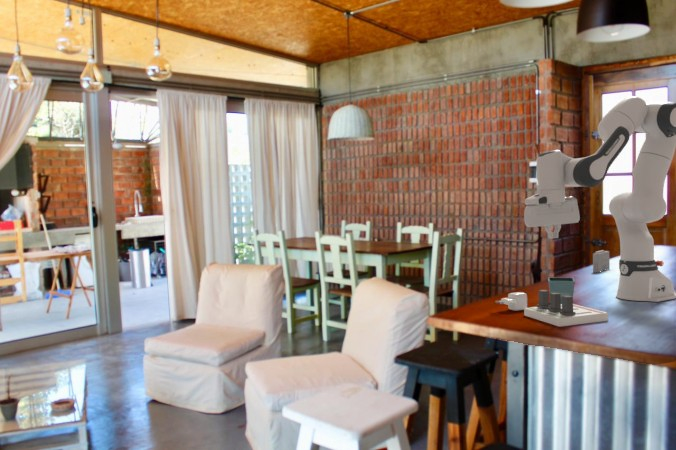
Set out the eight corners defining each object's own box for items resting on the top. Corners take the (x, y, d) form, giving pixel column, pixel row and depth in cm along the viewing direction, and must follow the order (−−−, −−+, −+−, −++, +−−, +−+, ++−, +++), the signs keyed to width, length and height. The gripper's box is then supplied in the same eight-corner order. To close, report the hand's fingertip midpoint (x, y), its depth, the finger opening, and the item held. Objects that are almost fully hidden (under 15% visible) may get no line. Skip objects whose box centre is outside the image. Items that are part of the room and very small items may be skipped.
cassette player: (603, 268, 295) (603, 248, 294) (609, 268, 293) (609, 249, 292) (593, 272, 283) (592, 252, 283) (598, 272, 281) (598, 252, 281)
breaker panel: (570, 310, 200) (569, 302, 200) (608, 320, 183) (608, 312, 183) (524, 315, 195) (524, 307, 195) (559, 326, 178) (558, 318, 178)
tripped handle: (568, 312, 184) (568, 295, 184) (575, 314, 181) (575, 296, 181) (559, 313, 183) (559, 296, 183) (566, 315, 180) (566, 297, 180)
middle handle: (556, 309, 190) (556, 292, 190) (562, 311, 187) (562, 293, 187) (548, 310, 189) (547, 293, 189) (554, 312, 186) (554, 294, 186)
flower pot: (573, 301, 215) (573, 277, 214) (575, 306, 207) (574, 281, 206) (548, 301, 218) (548, 277, 217) (548, 305, 209) (548, 280, 209)
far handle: (545, 306, 196) (544, 289, 195) (551, 307, 193) (550, 290, 192) (536, 307, 195) (536, 290, 194) (542, 308, 192) (542, 291, 191)
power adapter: (502, 313, 200) (502, 296, 200) (493, 310, 204) (493, 294, 204) (529, 309, 204) (528, 293, 203) (520, 307, 208) (519, 291, 208)
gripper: (570, 196, 206) (572, 235, 207) (520, 200, 200) (522, 240, 201) (583, 195, 200) (584, 236, 201) (531, 200, 194) (533, 241, 195)
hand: (553, 238), depth 201 cm, fingers closed
